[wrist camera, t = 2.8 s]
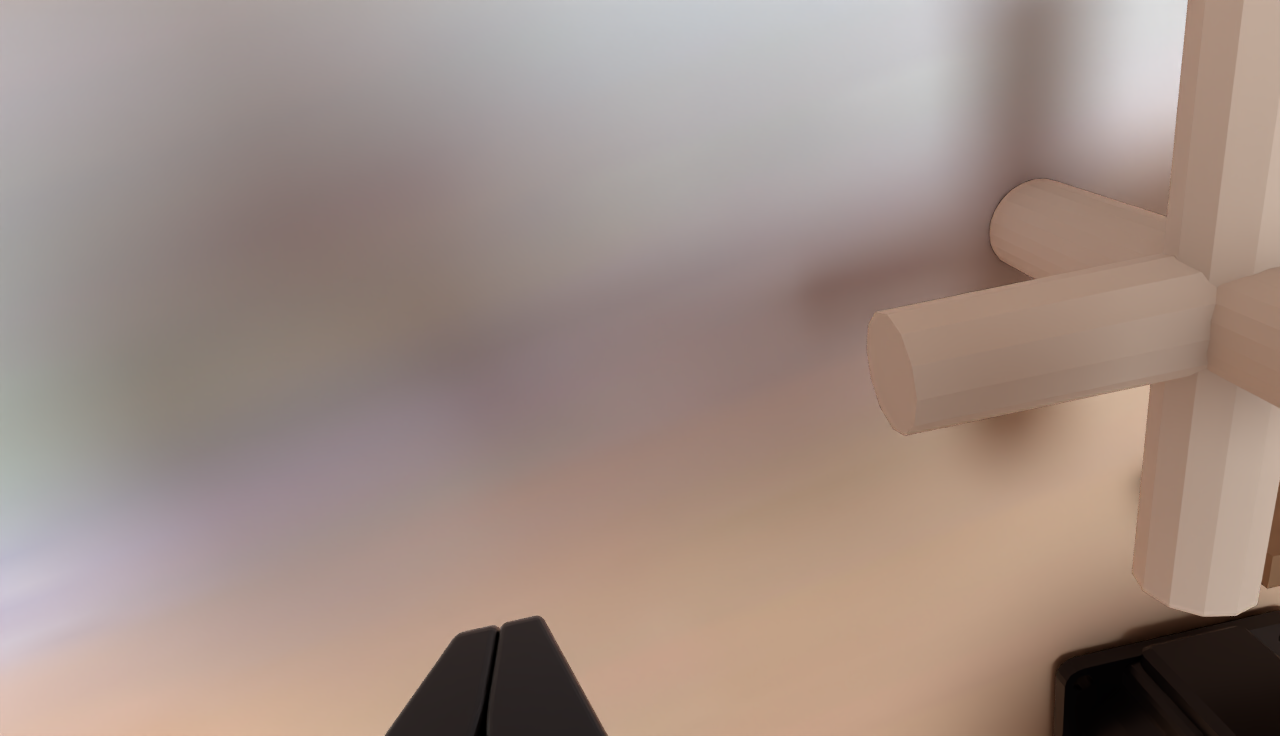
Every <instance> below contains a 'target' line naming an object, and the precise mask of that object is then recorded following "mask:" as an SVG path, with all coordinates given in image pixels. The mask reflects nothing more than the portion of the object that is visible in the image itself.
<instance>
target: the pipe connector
mask: <svg viewBox="0 0 1280 736" xmlns="http://www.w3.org/2000/svg"><path fill="white" fill-rule="evenodd" d="M989 235H990V243H991V246H992V248H993V250H994V252H995V254H996V255H997V256H998V257H999V258H1000V260H1001V261H1003V262H1005V263H1006V264H1008V265H1010V266H1012V267H1014V268H1016V269H1017V270H1019V271H1021V272H1023V273H1025V274H1027V275H1029V276H1031V277H1033V278H1034V280H1029V281H1024V282H1019V283H1014V284H1009V285H1004V286H999V287H995V288H990V289H985V290H980V291H975V292H970V293H965V294H960V295H955V296H950V297H946V298H941V299H936V300H931V301H926V302H921V303H916V304H911V305H906V306H901V307H897V308H892V309H887V310H882V311H877V312H875V313H874V315H873V317H872V319H871V320H870V322H869V324H868V333H867V356H868V362H869V369H870V375H871V380H872V384H873V387H874V390H875V393H876V396H877V399H878V402H879V405H880V408H881V410H882V411H883V413H884V415H885V416H886V418H887V420H888V421H889V423H890V425H891V426H892V428H893V429H894V430H896V431H898V432H899V433H901V434H903V435H905V436H906V435H911V434H916V433H921V432H925V431H930V430H935V429H940V428H944V427H949V426H954V425H959V424H963V423H968V422H973V421H978V420H982V419H987V418H992V417H997V416H1001V415H1006V414H1011V413H1016V412H1020V411H1025V410H1030V409H1035V408H1039V407H1044V406H1049V405H1054V404H1058V403H1063V402H1068V401H1073V400H1077V399H1082V398H1087V397H1092V396H1096V395H1101V394H1106V393H1111V392H1115V391H1120V390H1125V389H1130V388H1134V387H1139V386H1144V385H1149V384H1150V393H1149V404H1148V414H1147V424H1146V434H1145V444H1144V455H1143V465H1142V475H1141V485H1140V496H1139V506H1138V516H1137V526H1136V537H1135V547H1134V557H1133V567H1132V574H1133V575H1134V577H1135V579H1136V580H1137V582H1138V584H1139V585H1140V587H1141V589H1142V590H1143V591H1144V592H1145V593H1147V594H1148V595H1150V596H1152V597H1153V598H1155V599H1156V600H1158V601H1159V602H1161V603H1163V604H1164V605H1166V606H1167V607H1169V608H1173V609H1177V610H1180V611H1184V612H1188V613H1192V614H1195V615H1199V616H1203V617H1210V616H1237V615H1239V614H1241V613H1242V612H1244V611H1246V610H1248V609H1250V608H1252V607H1254V606H1256V605H1257V603H1258V598H1259V592H1260V587H1261V581H1262V576H1263V570H1264V565H1265V559H1266V553H1267V548H1268V542H1269V537H1270V531H1271V526H1272V520H1273V515H1274V509H1275V503H1276V498H1277V492H1278V487H1279V481H1280V0H1188V5H1187V15H1186V25H1185V35H1184V46H1183V56H1182V66H1181V76H1180V86H1179V97H1178V107H1177V117H1176V127H1175V138H1174V148H1173V158H1172V168H1171V179H1170V189H1169V199H1168V209H1167V216H1164V215H1161V214H1158V213H1154V212H1151V211H1148V210H1145V209H1142V208H1139V207H1136V206H1133V205H1129V204H1126V203H1123V202H1120V201H1117V200H1114V199H1111V198H1108V197H1104V196H1101V195H1098V194H1095V193H1092V192H1089V191H1086V190H1083V189H1080V188H1076V187H1073V186H1070V185H1067V184H1064V183H1061V182H1058V181H1054V180H1050V179H1034V180H1031V181H1028V182H1025V183H1022V184H1020V185H1019V186H1017V187H1016V188H1014V189H1012V190H1011V191H1010V192H1009V193H1008V194H1007V195H1006V196H1005V197H1004V198H1003V199H1002V200H1001V202H1000V203H999V205H998V206H997V208H996V209H995V212H994V214H993V217H992V220H991V224H990V231H989Z"/></svg>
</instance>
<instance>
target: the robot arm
mask: <svg viewBox="0 0 1280 736" xmlns="http://www.w3.org/2000/svg"><path fill="white" fill-rule="evenodd" d="M385 736H608V735H607V733H606V732H605V730H604V728H603V726H602V724H601V723H600V721H599V719H598V717H597V715H596V713H595V712H594V710H593V708H592V706H591V704H590V702H589V701H588V699H587V697H586V695H585V693H584V691H583V690H582V688H581V686H580V684H579V682H578V681H577V679H576V677H575V675H574V673H573V671H572V670H571V668H570V666H569V664H568V662H567V660H566V659H565V657H564V655H563V653H562V651H561V650H560V648H559V646H558V644H557V642H556V640H555V639H554V637H553V635H552V633H551V631H550V629H549V628H548V626H547V624H546V622H545V620H544V619H543V618H542V617H540V616H533V617H528V618H524V619H519V620H515V621H510V622H507V623H505V624H504V625H503V626H502V627H501V628H499V627H497V626H487V627H483V628H478V629H474V630H469V631H465V632H462V633H459V634H458V635H457V636H455V637H454V639H453V640H452V641H451V643H450V644H449V645H448V647H447V648H446V650H445V651H444V653H443V654H442V655H441V657H440V658H439V660H438V661H437V662H436V664H435V665H434V667H433V668H432V670H431V671H430V672H429V674H428V675H427V677H426V678H425V679H424V681H423V682H422V684H421V685H420V686H419V688H418V689H417V691H416V692H415V694H414V695H413V696H412V698H411V699H410V701H409V702H408V703H407V705H406V706H405V708H404V709H403V710H402V712H401V713H400V715H399V716H398V718H397V719H396V720H395V722H394V723H393V725H392V726H391V727H390V729H389V730H388V732H387V733H386V735H385ZM1053 736H1280V610H1278V611H1273V612H1269V613H1265V614H1260V615H1256V616H1252V617H1247V618H1243V619H1238V620H1234V621H1230V622H1225V623H1221V624H1217V625H1212V626H1208V627H1204V628H1199V629H1195V630H1191V631H1186V632H1182V633H1178V634H1173V635H1169V636H1164V637H1160V638H1156V639H1151V640H1147V641H1143V642H1138V643H1134V644H1130V645H1125V646H1121V647H1117V648H1112V649H1108V650H1103V651H1099V652H1095V653H1090V654H1086V655H1082V656H1077V657H1074V658H1071V659H1069V660H1067V661H1065V662H1064V663H1063V664H1061V666H1060V667H1059V668H1058V670H1057V673H1056V681H1055V705H1054V729H1053Z"/></svg>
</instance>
